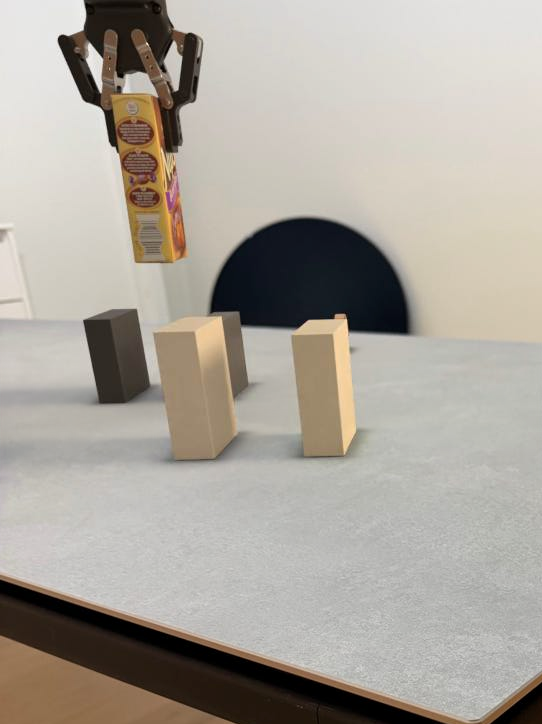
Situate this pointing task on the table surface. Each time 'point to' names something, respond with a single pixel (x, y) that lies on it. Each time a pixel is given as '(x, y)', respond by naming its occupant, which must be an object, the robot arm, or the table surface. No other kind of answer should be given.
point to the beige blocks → (214, 394)
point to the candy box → (148, 179)
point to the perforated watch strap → (341, 316)
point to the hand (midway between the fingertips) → (148, 152)
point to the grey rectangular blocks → (127, 357)
